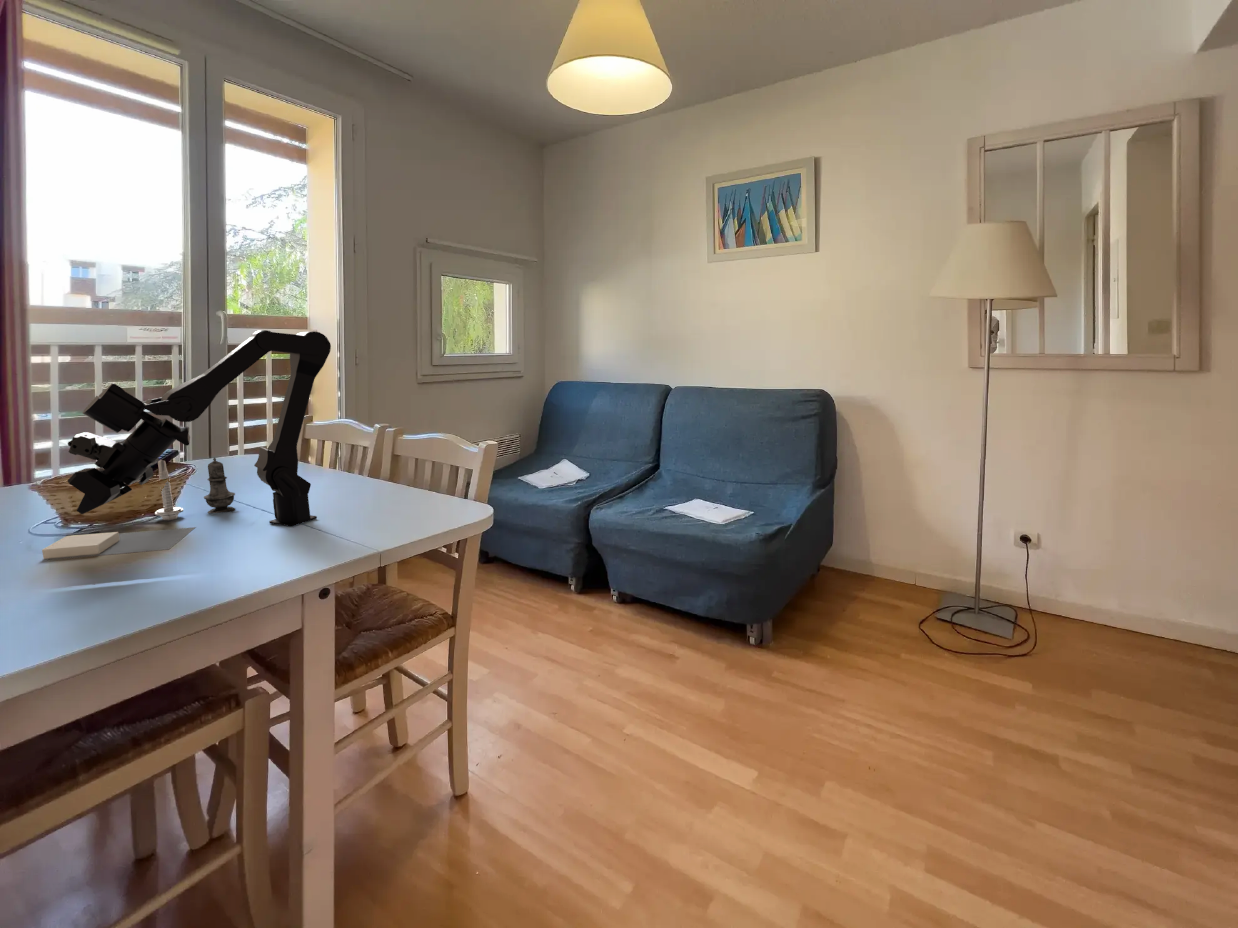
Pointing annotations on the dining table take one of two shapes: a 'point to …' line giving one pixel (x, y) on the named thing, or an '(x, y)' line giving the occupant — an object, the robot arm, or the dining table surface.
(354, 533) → the dining table surface
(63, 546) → the tile
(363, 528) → the dining table surface
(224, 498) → the salt shaker
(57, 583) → the dining table surface
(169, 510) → the screw
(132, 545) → the mat
